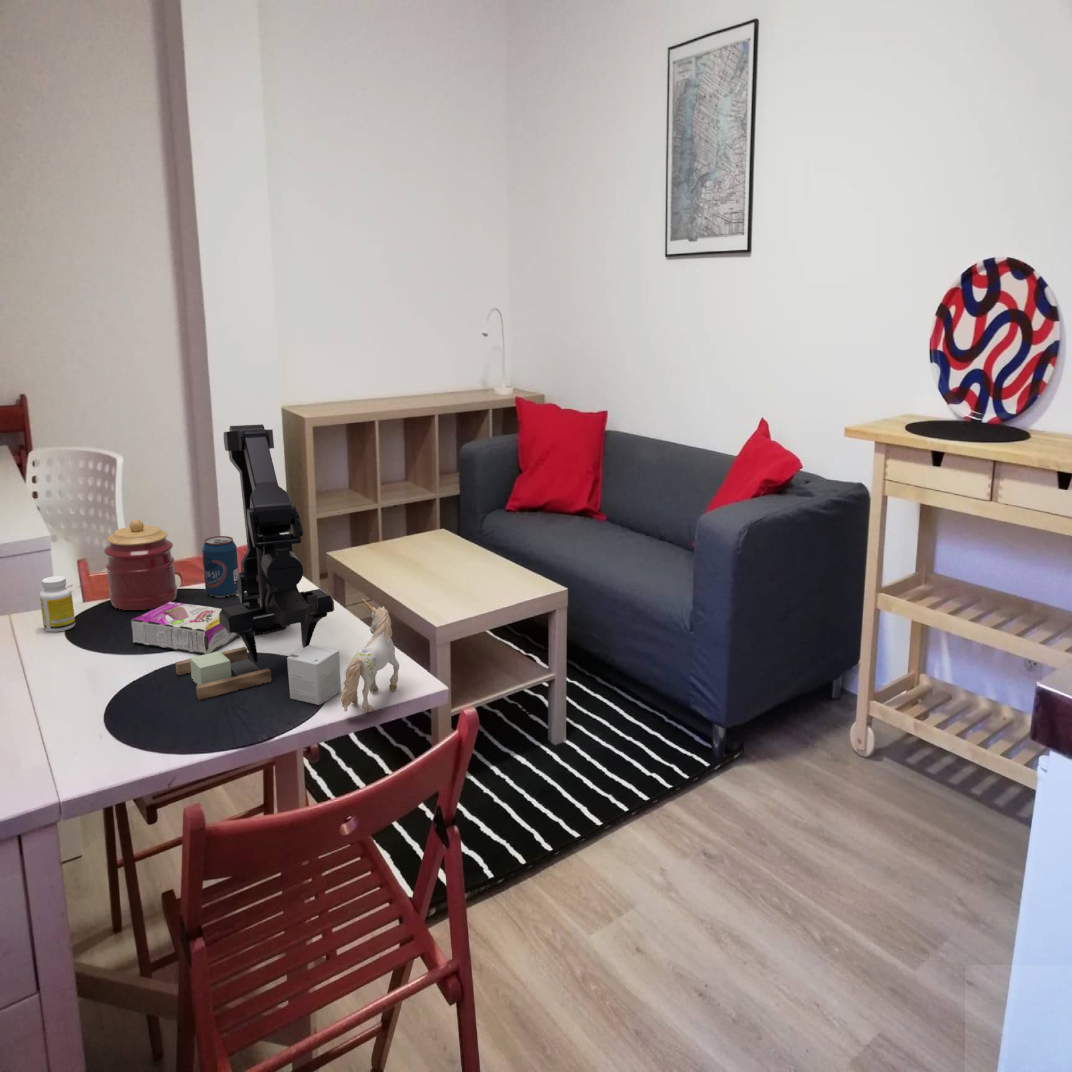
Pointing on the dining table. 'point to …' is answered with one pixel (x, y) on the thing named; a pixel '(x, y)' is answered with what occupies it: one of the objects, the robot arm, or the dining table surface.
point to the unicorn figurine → (371, 661)
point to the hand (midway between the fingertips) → (280, 655)
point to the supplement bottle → (56, 604)
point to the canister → (140, 567)
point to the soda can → (220, 566)
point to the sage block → (210, 668)
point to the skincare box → (314, 674)
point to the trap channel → (241, 667)
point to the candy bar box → (181, 628)
